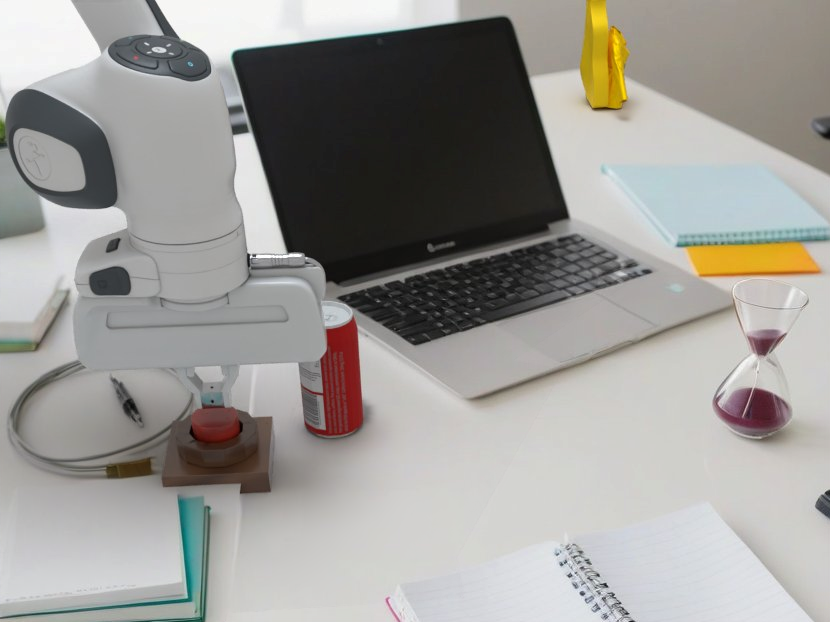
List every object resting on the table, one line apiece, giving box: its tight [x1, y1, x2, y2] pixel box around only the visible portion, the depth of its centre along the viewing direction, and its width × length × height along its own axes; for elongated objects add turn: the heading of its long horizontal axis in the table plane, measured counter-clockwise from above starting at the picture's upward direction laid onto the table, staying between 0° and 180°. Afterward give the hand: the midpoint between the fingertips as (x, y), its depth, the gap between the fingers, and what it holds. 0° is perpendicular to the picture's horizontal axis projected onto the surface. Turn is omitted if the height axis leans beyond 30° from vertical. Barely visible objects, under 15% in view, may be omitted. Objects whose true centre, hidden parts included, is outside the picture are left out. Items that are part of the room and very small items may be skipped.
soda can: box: [297, 300, 364, 439], centre depth 106 cm, size 6×6×12 cm
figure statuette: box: [579, 0, 631, 110], centre depth 182 cm, size 18×8×22 cm, turn 8°
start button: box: [191, 405, 240, 443], centre depth 101 cm, size 4×4×2 cm
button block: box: [160, 408, 276, 495], centre depth 103 cm, size 9×9×4 cm
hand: (214, 405), depth 100 cm, fingers closed
